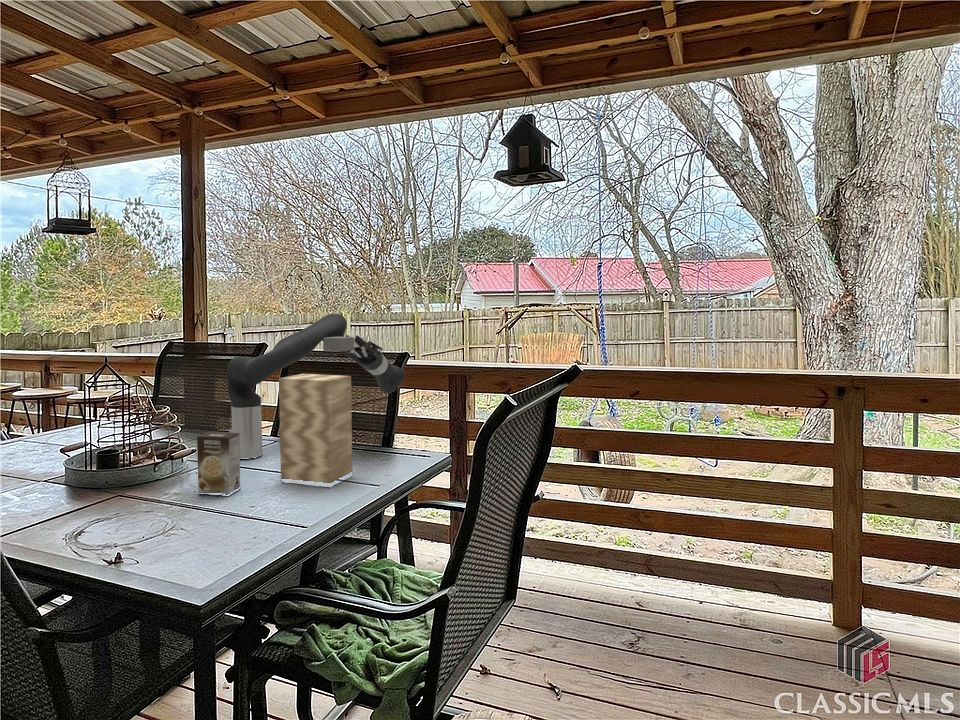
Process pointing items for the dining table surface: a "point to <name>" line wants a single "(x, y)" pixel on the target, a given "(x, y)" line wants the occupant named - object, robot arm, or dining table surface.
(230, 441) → the coffee box
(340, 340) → the block
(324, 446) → the pedestal
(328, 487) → the dining table surface
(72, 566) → the dining table surface
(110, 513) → the dining table surface
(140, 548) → the dining table surface
